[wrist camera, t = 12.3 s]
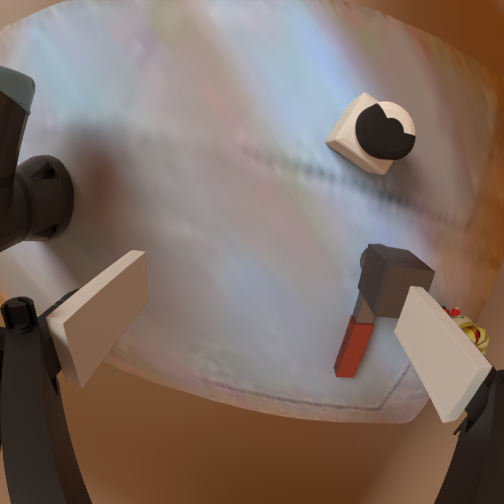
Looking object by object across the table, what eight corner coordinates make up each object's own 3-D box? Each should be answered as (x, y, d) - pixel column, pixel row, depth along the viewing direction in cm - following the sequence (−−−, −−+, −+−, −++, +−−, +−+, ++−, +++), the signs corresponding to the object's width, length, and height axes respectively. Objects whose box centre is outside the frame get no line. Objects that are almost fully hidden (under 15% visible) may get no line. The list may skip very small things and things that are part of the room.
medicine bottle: (366, 172, 36) (402, 180, 25) (323, 142, 35) (345, 136, 24) (390, 132, 34) (433, 126, 23) (349, 101, 33) (380, 81, 22)
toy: (447, 287, 40) (494, 333, 26) (460, 311, 42) (502, 357, 27) (417, 315, 42) (456, 369, 28) (432, 336, 44) (468, 389, 29)
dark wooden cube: (368, 243, 36) (390, 265, 29) (408, 250, 36) (435, 271, 28) (357, 287, 38) (374, 316, 31) (396, 291, 38) (418, 319, 31)
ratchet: (364, 241, 39) (383, 260, 32) (395, 246, 39) (418, 265, 31) (328, 366, 47) (335, 398, 39) (355, 367, 47) (364, 398, 39)
